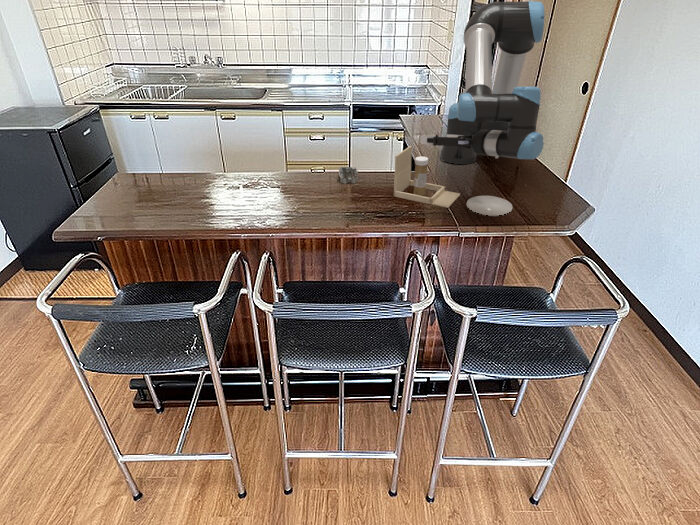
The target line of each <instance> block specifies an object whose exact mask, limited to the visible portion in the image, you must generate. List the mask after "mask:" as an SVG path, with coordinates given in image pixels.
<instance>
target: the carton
mask: <svg viewBox="0 0 700 525" xmlns="http://www.w3.org/2000/svg"><path fill="white" fill-rule="evenodd" d="M412 152H413V146H412V145H409V146H407V147H406V148H405V149H403V150H401V151H400V152H399V153H398V154H396V155H395V156H394V175H393V177H394V178H393V180H394V181H393V197H396V198H399V199H400V198H401V199H405V200H408V201H413V202H418V203H422V204H428V205H432V206H437V207H442V208H446V209H449V208H450V207H451V205H453V203H454V202H455V201H457V199H458V198H459V197H460V196H461V195H460V194H461V193H458V192H454V191H450V190H449V191H448V190H446V186H445V185H439V184H435V183H429V182H426V189H425V190H430V191H431V190H432V191H435V193H434V194H433V195H432V196H431V197H429V196H425V195H423V196H419V195H414V194H413V193H409V192H406V191H405V190H406V189H407V188H408V187H409V186H410V187H414V179H412V178H411V176H412V156H413V155H412V154H413V153H412ZM404 191H405V192H404Z"/></svg>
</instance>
